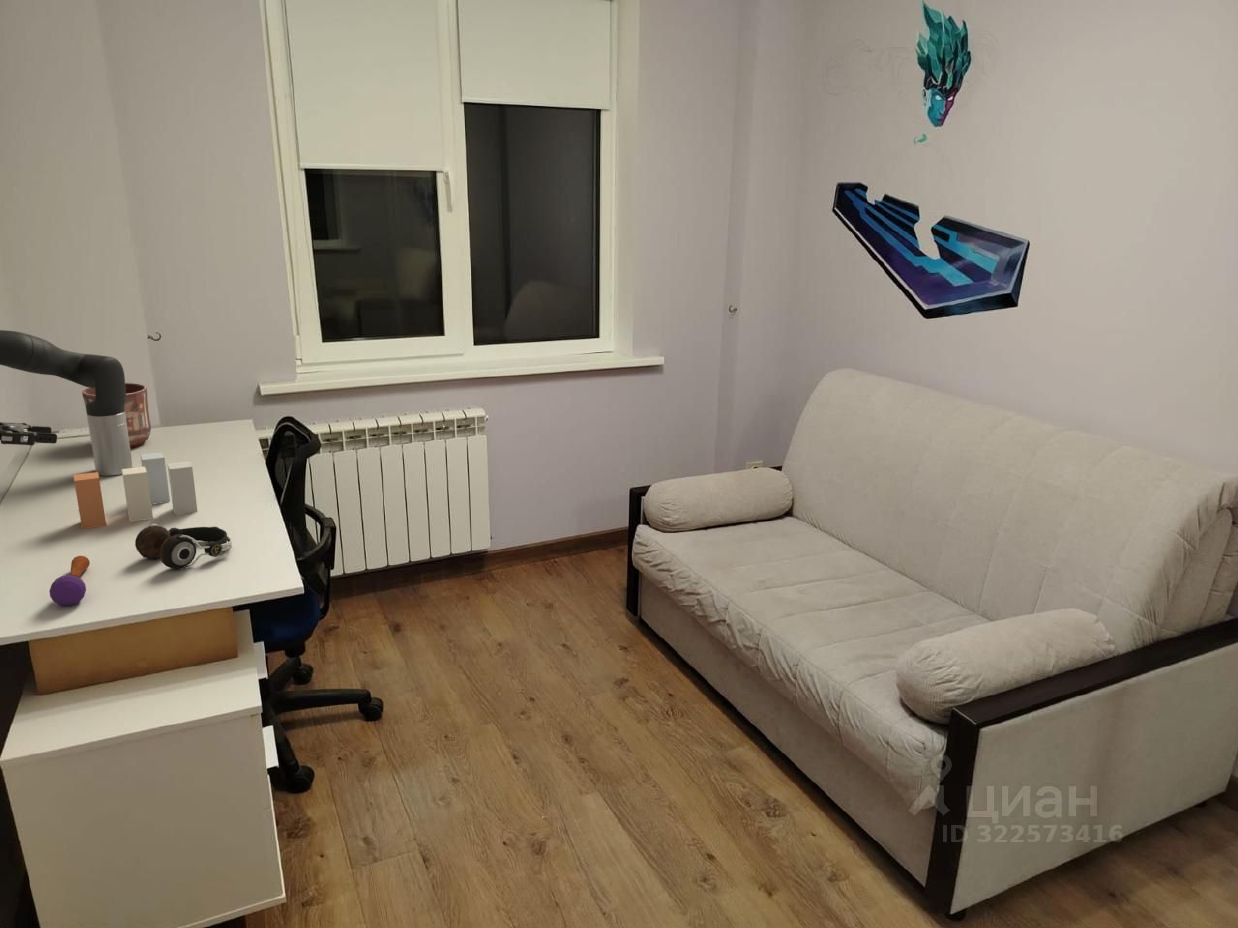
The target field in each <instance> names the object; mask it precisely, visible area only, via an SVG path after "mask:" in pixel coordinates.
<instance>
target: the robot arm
mask: <svg viewBox="0 0 1238 928" xmlns="http://www.w3.org/2000/svg"><path fill="white" fill-rule="evenodd" d="M0 366H4V367H8V368H11V369H15V370H18V371H22V372H27V373H31V374H36V375H37V374H38V375H45V376H55V377H58V378H61V379H64V380H67V381H70V382H73V383H75V384H77V385H80V386H81V387H86V388H95V396H96V398H95V400H94V401H91V402H89V403H87V404H86V406H85V412H86V417H87V424H88V430H89V437H90V444H91V450H92V456H93V457H92V458H93V463H94V468H95V469H94V470H95V472H98V475H99V476H103V477H104V476H106V477H107V476H108V477H109V476H119V475H122V469H128V468H134V466H133V460H132V453H131V448H130V444H129V437H128V429H127V422H126V416H125V408H124V405H125V402H126V388H125V383H126V377H125V371H124V368H123V365H122V363H121V361H119V359H118V358H116V357H113V356H109V355H108V356H107V355H100V354H92V353H90V354H89V353H81V352H75V351H70V350H65V349H62V348H60V347H58V346H56V345H55V344H54V343H52V342H50V341H48V340H45V339H44V338H40V337H38V336H36V335H31V334H28V333H25V332H21V331H15V330H6V329H5V330H4V329H2V330H0ZM56 443H58V435H57V434H56V433H53V432H52V427H50V426H37V425H32V424H31V425H30V424H28V423H26V422H22V423H21V422H1V421H0V444H2V445H17V446H19V445H20V446H21V445H22V446H30V447H31V446H35V444H56Z"/></svg>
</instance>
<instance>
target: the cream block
mask: <svg viewBox="0 0 1238 928" xmlns="http://www.w3.org/2000/svg"><path fill="white" fill-rule="evenodd" d="M121 475H122V481H123V487H124V494H125V500H126V501H125V503H126V508H127V509H126V510H127V514H128V515H127V516H128V519H129V522H137V521H142V520H144V521H145V520H151V519H154V515H153V509H152V508H153V506H152V504H151V499H150V492H149V484H148V477H147V471H146V468H145V467H142V466H138V467H133V468H128V469H122V474H121Z"/></svg>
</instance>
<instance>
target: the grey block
mask: <svg viewBox="0 0 1238 928" xmlns="http://www.w3.org/2000/svg"><path fill="white" fill-rule="evenodd" d="M166 466H167V471H168V479H169V480H168V481H169V486H170V494H171V495H170V497H171V501H172V502H171V503H172V504H171V505H172V510H173V511H174V515H175V516H177V515H183V514H184V515H185V514H190V513H197V512H198V505H197V504H198V503H197V496H196V487H195V477H194V471H193V470H194V469H193V465H192V463H191V462H190V461H189V460H188V461H179V462H172V463H170V462H169V463H167V465H166Z"/></svg>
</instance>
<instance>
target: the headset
mask: <svg viewBox="0 0 1238 928" xmlns="http://www.w3.org/2000/svg"><path fill="white" fill-rule="evenodd" d="M197 541H200V542H206V544H205V546H201V545H200V544H199V543H198V542H197ZM232 541H233V540H232V538H231V537H230V536H228V533H227V531H226V530H224V529H222V528H219V527H218V526H197V527H196V526H194V527H186V528H177V527H172V528H169V529H167V528H166V527H165V526H161V525H158V524H156V523H153V524H151V525H149V526H147V527H145V528H143V529H142V530H141V531H139V532H138V534H137V536H136V538H135V543H134V547H135V549H136V551H137V552H138V553H139V554H140V555H141V556H142V558H145V559H146V560H147V559H148V560H156V559H159V558H160V561H161V563H162V564H163V565H164V566H165V567H166V568H170V569H179V570H184V569H183V568H186V569H189V568H190V567H192V566H194V564H196V562H197V561H198V560H199V559H200V557H202V556H210V557H214V558H215V557H216V558H217V557H219V556H220V555H221V553H223V552H225V551H228V550H231V549H232V545H233V543H232ZM197 547H198V548H199V549H204V552H203V553H200V554H199V555H198V556H197V557H196V555H197ZM194 559H195V560H194Z"/></svg>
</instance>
